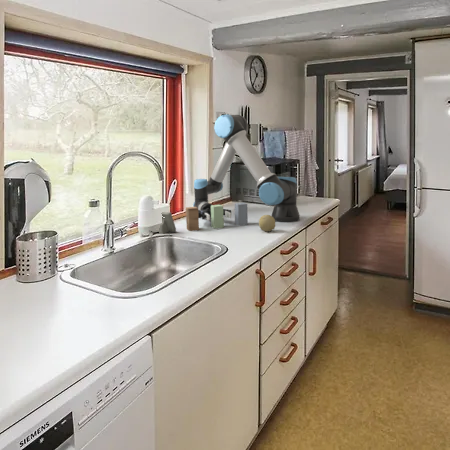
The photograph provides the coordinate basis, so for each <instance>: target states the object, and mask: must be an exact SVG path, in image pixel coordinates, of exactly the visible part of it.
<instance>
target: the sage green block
mask: <svg viewBox="0 0 450 450" xmlns="http://www.w3.org/2000/svg"><path fill="white" fill-rule="evenodd" d="M223 209H224V205H222V204H214V205H213V204H212V205H211V217H210V223H211V224H210V225H211V228H213V229H221V228H222V229H223V228H225V225H224V224H225V222H224V221H225V220H224V215H223Z"/></svg>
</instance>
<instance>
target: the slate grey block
mask: <svg viewBox="0 0 450 450" xmlns="http://www.w3.org/2000/svg"><path fill="white" fill-rule="evenodd" d="M248 216H249V215H248V203H246V202H234V224H235V225H236V226H238V227H240V226H241V227H242V226H249V225H248Z"/></svg>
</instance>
